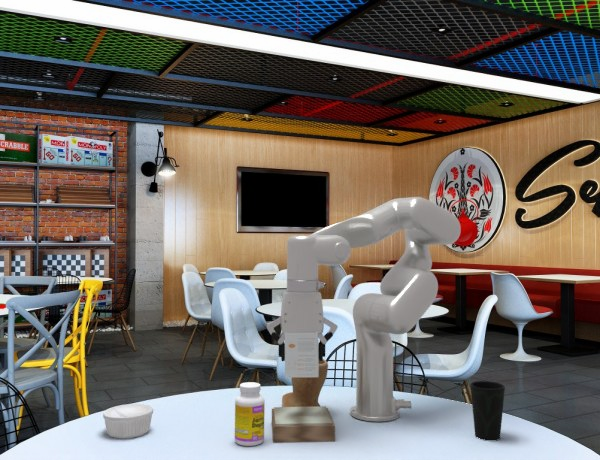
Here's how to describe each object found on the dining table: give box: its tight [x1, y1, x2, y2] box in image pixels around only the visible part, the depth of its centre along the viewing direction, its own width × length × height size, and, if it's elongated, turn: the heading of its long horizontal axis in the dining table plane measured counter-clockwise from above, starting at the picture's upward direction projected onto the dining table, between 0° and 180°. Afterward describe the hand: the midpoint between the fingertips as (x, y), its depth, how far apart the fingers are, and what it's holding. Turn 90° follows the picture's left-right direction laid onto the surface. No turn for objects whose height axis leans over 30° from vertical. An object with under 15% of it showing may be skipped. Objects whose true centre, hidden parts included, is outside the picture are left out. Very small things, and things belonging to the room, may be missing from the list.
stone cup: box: [281, 358, 329, 407], centre depth 153 cm, size 15×12×15 cm
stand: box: [271, 405, 336, 443], centre depth 137 cm, size 14×14×4 cm
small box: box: [284, 332, 319, 378], centre depth 137 cm, size 8×6×10 cm
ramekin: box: [102, 403, 154, 440], centre depth 136 cm, size 11×11×5 cm
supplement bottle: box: [234, 381, 265, 447], centre depth 130 cm, size 7×7×13 cm
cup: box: [469, 380, 506, 441], centre depth 134 cm, size 8×8×12 cm
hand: (301, 359), depth 137 cm, fingers closed on small box, 8 cm apart
